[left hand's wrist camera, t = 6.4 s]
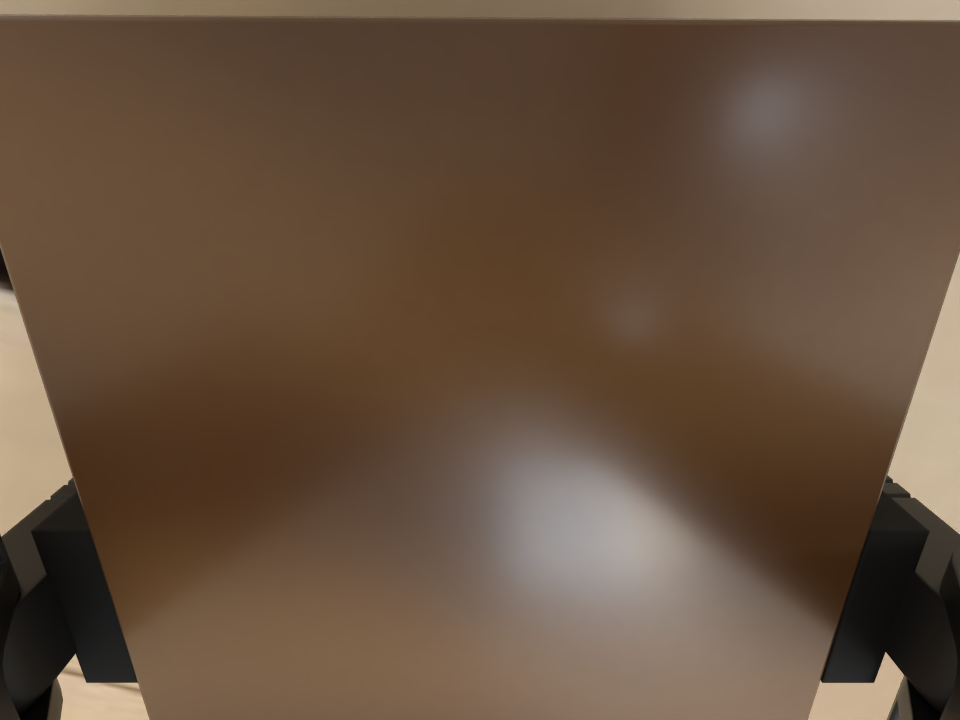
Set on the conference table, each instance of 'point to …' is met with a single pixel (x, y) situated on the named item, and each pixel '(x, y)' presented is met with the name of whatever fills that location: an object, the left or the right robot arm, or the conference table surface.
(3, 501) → the conference table surface
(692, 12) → the conference table surface
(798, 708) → the thick board
